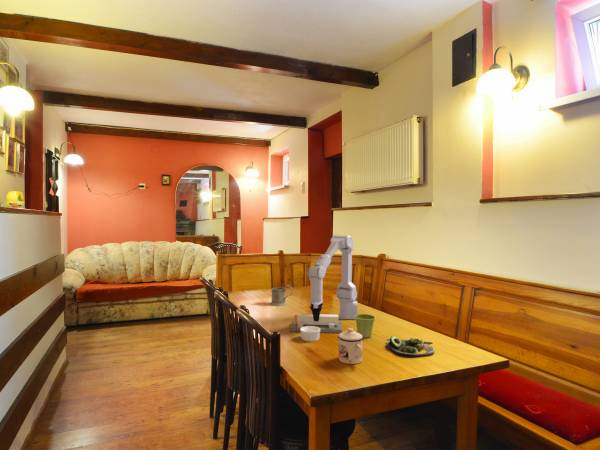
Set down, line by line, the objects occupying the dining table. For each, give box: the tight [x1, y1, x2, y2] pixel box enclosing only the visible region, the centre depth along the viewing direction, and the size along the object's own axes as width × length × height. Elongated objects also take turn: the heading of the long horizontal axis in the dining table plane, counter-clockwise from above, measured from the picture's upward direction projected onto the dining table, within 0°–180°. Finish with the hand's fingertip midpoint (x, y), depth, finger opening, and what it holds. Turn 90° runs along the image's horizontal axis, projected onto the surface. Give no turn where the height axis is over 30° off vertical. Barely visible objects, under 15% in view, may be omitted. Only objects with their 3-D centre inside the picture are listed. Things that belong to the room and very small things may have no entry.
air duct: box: [293, 312, 340, 325], centre depth 175 cm, size 21×4×4 cm, turn 85°
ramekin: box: [300, 326, 321, 342], centre depth 160 cm, size 9×9×4 cm
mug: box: [269, 284, 294, 307], centre depth 223 cm, size 14×10×12 cm
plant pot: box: [354, 313, 377, 339], centre depth 164 cm, size 9×9×9 cm
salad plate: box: [385, 335, 436, 358], centre depth 148 cm, size 19×18×5 cm
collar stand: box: [289, 320, 343, 334], centre depth 175 cm, size 24×12×4 cm, turn 85°
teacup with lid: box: [337, 327, 364, 365], centre depth 135 cm, size 12×9×12 cm
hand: (316, 319), depth 175 cm, fingers closed on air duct, 4 cm apart
